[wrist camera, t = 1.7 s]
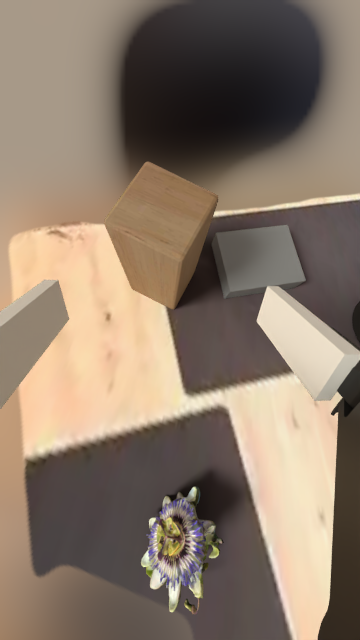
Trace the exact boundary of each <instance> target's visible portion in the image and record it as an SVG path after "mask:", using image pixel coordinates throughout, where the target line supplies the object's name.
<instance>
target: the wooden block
mask: <svg viewBox="0 0 360 640" xmlns="http://www.w3.org/2000/svg"><path fill="white" fill-rule="evenodd" d="M217 202H218V196H217V195H216V194H214V193H212V192H210V191H208V190H205V189H204V188H202V187H200V186H198V185H196V184H193V183H191V182H189V181H187V180H185V179H183V178H181V177H179V176H177V175H175V174H173V173H171V172H169V171H167V170H164V169H163V168H160V167H159V166H156V165H154V164H152V163H150V162H146V163H145V164H144V165H143V166H142V168H141V169H140V171H139V172H138V173H137V175H136V176H135V178H134V179H133V180H132V182H131V183H130V185H129V186H128V187H127V189H126V190H125V192H124V193H123V194H122V196H121V197H120V198H119V200H118V201H117V203H116V204H115V205H114V207H113V208H112V210H111V211H110V212H109V214H108V215H107V217H106V218H105V221H104V224H105V226H106V229H107V231H108V233H109V236H110V238H111V241H112V243H113V245H114V248H115V250H116V252H117V255H118V257H119V259H120V262H121V264H122V267H123V269H124V271H125V274H126V276H127V278H128V281H129V283H130V286H131V288H132V289H133V290H135V291H137V292H139V293H141V294H143V295H145V296H147V297H149V298H151V299H153V300H155V301H157V302H159V303H161V304H163V305H165V306H167V307H169V308H171V309H175V308H176V306H177V304H178V302H179V300H180V298H181V296H182V295H183V293H184V291H185V289H186V287H187V285H188V283H189V282H190V280H191V278H192V276H193V274H194V272H195V269H196V266H197V263H198V260H199V257H200V254H201V251H202V248H203V245H204V242H205V239H206V236H207V233H208V230H209V227H210V224H211V221H212V218H213V215H214V212H215V209H216V205H217Z"/></svg>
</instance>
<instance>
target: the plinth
mask: <svg viewBox="0 0 360 640" xmlns="http://www.w3.org/2000/svg"><path fill="white" fill-rule="evenodd" d="M212 248H213V253H214V257H215V261H216V265H217V270H218V274H219V278H220V282H221V287H222V291H223V295H224V299H225V298H231V297H238V296H245V295H251V294H258V293H264V292H266V289H267V286H279V287H280V288H281V289H283V290H284V289H291V288H295V287H296V286H298V285H300V284H301V283H303V282H305V281H306V279H305V276H304V273H303V270H302V267H301V264H300V261H299V258H298V255H297V252H296V249H295V246H294V243H293V240H292V237H291V234H290V231H289V228H288V225H282V226H273V227H264V228H255V229H245V230H236V231H227V232H218V233H216V234H215V237H214V239H213V242H212Z"/></svg>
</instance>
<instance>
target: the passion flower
mask: <svg viewBox="0 0 360 640" xmlns="http://www.w3.org/2000/svg"><path fill="white" fill-rule="evenodd" d="M199 499H200V490H199V488H198V487H197V486H196V487H195V486H194V487H193V488H192V489H191V491H190V492H189V494H188V496H187V497H185V498H184V496H183V494H182V493H181V492H178V495H177V498H176V499H174V500H173V501H172V500H171V498H170V497H168V496H165V498H164V500H163V508H162V510H161V511H160V512H159V514H160V515H159V516H156V517H153V518H151V519H150V520H149V529H150V530H151V534H146V535H149V537H148V538H149V539H150V545H149V546H148V550H147V552H146V553H145V554H144V556H143V558H142V561H141V565H142V566H143V567H147V568H146V573H147V574H148V576H149V577H150V578H151V582H150V587H151V588H152V589H159V588H160V587H161V586H163V585H164V584H165V583H166V588H168V587H169V596H170V600H169V610H170V612H174V610H175V608H176V607H177V605H178V603H179V600H180V597H181V586H182V585H183V582H184V586H187V584H189V588H190V589H191V590H192V591H193V593H194V594H195V596H196V597H197V598H198V607H197V609H196V608H195V606H194V605H191V604H189V601H188V599H186V601H185V607H186V608H188V609H189V610H190V611H191V612H192V614H197V611H198V608H199V599H200V598H203V578H202V572H203V571H204V570H206V569H207V568H208V563H204V564H202V562H203V561H204V560H205V559H206V555H207V551H208V547H209V545H212V547H213V551H212V552H211V553H210V555H209V558H215V557H217V556H218V555H219V553H220V550H219V548H218V545H219V544H221V543H223V540H222V539H220V538H218V537H217V536H216V534H215V528H216V524H215V523H214V522H213V521H211V520H210V521H209V520H200V519H198V517H197V514H196V505H197V503H198V502H199ZM213 539H215V541H212V540H213Z"/></svg>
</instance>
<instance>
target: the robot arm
mask: <svg viewBox="0 0 360 640" xmlns="http://www.w3.org/2000/svg"><path fill="white" fill-rule="evenodd" d="M68 320H69V317H68V313H67V310H66V306H65V302H64V299H63V295H62V292H61V288H60V285H59V281H58V280H44V281H42V282H41V283H40V284H38V285H37V286H35V287H34V288H33V289H31V290H30V291H28V292H27V293H26V294H24V295H23V296H21V297H20V298H19V299H17V300H16V301H14V302H13V303H12V304H10V305H9V306H7V307H6V308H5V309H3V310H2V311H0V409H1V408H2V407H3V405H4V404H5V403H6V401H7V400H8V399H9V397H10V396H11V395H12V393H13V392H14V391H15V390H16V388H17V387H18V386H19V384H20V383H21V382H22V380H23V379H24V378H25V376H26V375H27V374H28V373H29V371H30V370H31V369H32V367H33V366H34V365H35V363H36V362H37V361H38V359H39V358H40V357H41V355H42V354H43V353H44V352H45V350H46V349H47V348H48V346H49V345H50V344H51V342H52V341H53V340H54V338H55V337H56V336H57V334H58V333H59V332H60V331H61V329H62V328H63V327H64V325H65V324H66V323H67V321H68ZM257 323H258V324H259V325H260V327H261V328H262V329H263V331H264V332H265V334H266V335H267V336H268V338H269V339H270V340H271V342H272V343H273V345H274V346H275V347H276V349H277V350H278V351H279V353H280V354H281V355H282V357H283V358H284V360H285V361H286V362H287V364H288V365H289V366H290V368H291V369H292V371H293V372H294V373H295V375H296V376H297V377H298V379H299V380H300V382H301V383H302V384H303V386H304V387H305V388H306V390H307V391H308V392H309V394H310V395H311V397H312V398H313V399H314V401H323V400H331V399H332V397H333V396H334V395H335V393H336V392H337V391H338V393H339V394H340V395H341V396H342V397H343V398H342V399H341V400H340V402H339V403H338V404H337V406H336V407H335V408H334V410H333V411H332V413H331V415H333V416H334V415H335V413H336V412H338V434H337V455H336V477H335V499H334V521H333V542H332V564H331V586H330V600H329V606H328V610H327V612H326V614H325V616H324V618H323V620H322V623H321V626H320V630H319V634H318V640H360V349H359V348H358V347H357V346H355V345H354V344H353V343H351V342H350V341H348V339H346V338H345V337H344V336H342V335H341V334H340V333H339V332H338V331H336V330H335V329H334V328H332V327H330V326H328V325H326V324H325V323H324V322H322V321H321V320H320V319H319V318H317V317H316V316H315V315H314V314H312V313H311V312H310V311H309V310H307V309H306V308H305V307H304V306H303V305H301V304H300V303H299V302H298V301H296V300H295V299H294V298H293V297H291V296H290V295H289V294H288V293H286V292H285V291H284V290H283V289H281V288H280V287H279V286H267V289H266V292H265V296H264V299H263V302H262V305H261V308H260V312H259V315H258V318H257ZM353 327H354V331H355V334H356V336H357V339H358V340H359V342H360V302H359V303H358V304H357V306H356V308H355V310H354V313H353Z"/></svg>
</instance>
